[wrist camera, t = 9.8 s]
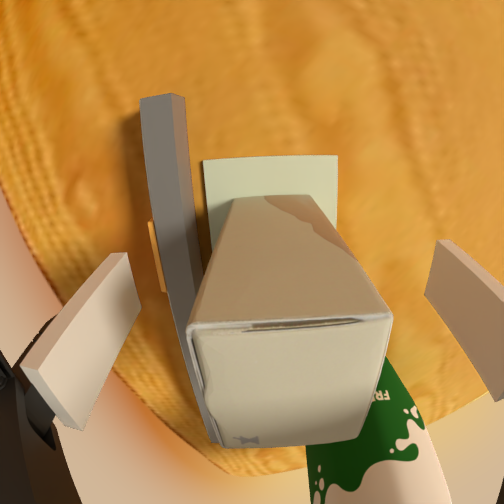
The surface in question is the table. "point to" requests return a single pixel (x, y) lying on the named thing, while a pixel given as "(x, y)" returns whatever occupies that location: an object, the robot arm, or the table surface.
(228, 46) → the table surface
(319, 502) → the fresh milk carton
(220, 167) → the pad
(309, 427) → the box
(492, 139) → the table surface
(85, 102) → the table surface
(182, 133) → the rail
